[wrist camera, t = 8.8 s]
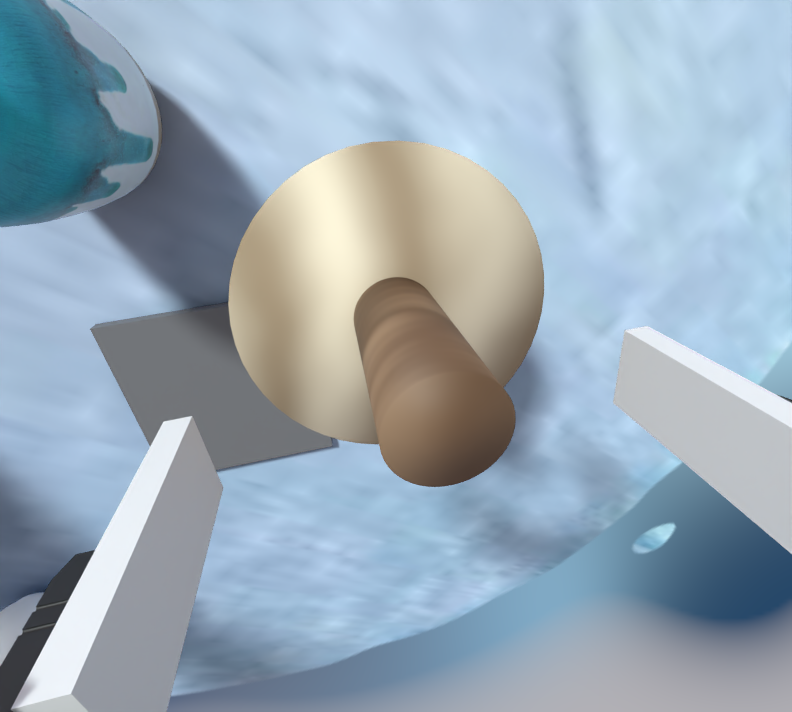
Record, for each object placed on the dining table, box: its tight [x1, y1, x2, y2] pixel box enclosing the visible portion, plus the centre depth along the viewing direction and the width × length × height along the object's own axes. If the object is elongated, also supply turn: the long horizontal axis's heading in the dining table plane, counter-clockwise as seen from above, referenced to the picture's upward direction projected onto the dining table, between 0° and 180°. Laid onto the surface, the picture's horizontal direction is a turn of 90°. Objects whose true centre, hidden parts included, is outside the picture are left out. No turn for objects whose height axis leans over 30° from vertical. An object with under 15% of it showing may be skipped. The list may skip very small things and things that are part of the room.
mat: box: [90, 302, 332, 470], centre depth 37 cm, size 16×16×1 cm
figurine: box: [0, 592, 44, 666], centre depth 41 cm, size 10×10×12 cm
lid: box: [228, 141, 544, 487], centre depth 16 cm, size 15×15×10 cm
